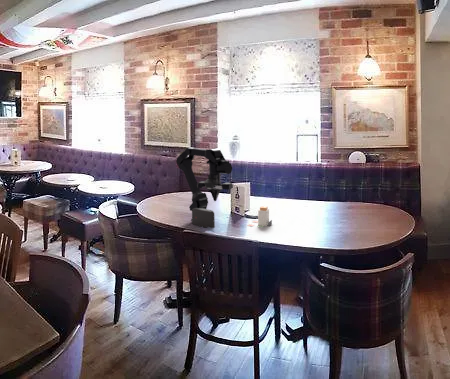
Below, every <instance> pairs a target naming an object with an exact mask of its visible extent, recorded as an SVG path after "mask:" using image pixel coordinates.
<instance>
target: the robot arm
mask: <svg viewBox="0 0 450 379" xmlns="http://www.w3.org/2000/svg"><path fill="white" fill-rule="evenodd" d="M195 156H198V157H203V158H205V159H207V162H206V164H207V165H209V168H208V169H209V170H208V171H209V172H208V173H209V174H208V175H207V176H208V177H207V179H206V180H204V181H203V180H202V181H197V179H196V176H195V174H194V171H193V160H194V158H195ZM175 161H176V165H177V167H178V168H179V169H180V170H181V171H182V172H183V174H184V176H185V179H186V181H187V183H188V187H189V189H190V191H191V194H192V195H191V202H192V203H191V204H190V205H189V211H191V212H192V209H193V208H203V209H208V204H209V201H208V200H209V198H208V196H207V194H206V192H202V191H201V189H203V188H205V189H206V190H208V191H209V193H210V194H211V196H212V200H213V201H214V202H217V200H218V198H219V195H220V193H221V191H222V190H228V191H229V190H233V188H234V185H233V183H232V182H225V183H224V182H223V183H222V181H221V176H222V174H224V175H230V174H231V173H232V171H233V166H232V164H231V163H230V160H226V157H225V156H224V155H223V153H222V151H221V149H220V148H209V149H204V148H200V147H199V148H197V147H187V148H185V150H184V151H183V152H181V153H180V154H179V156H177V157H176V160H175ZM190 220H191V221H192V218H190Z"/></svg>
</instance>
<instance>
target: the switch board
mask: <svg viewBox="0 0 450 379" xmlns="http://www.w3.org/2000/svg"><path fill="white" fill-rule="evenodd" d="M272 222H273V220H272V219H270V220H269V224H268V227H271V225H273V223H272ZM252 223H256V224H258V220H253V221H252ZM254 226H255V224H247V227H254ZM264 227H265V226H261V225H257V228H264Z"/></svg>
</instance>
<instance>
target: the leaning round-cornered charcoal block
mask: <svg viewBox="0 0 450 379" xmlns="http://www.w3.org/2000/svg"><path fill="white" fill-rule="evenodd" d="M191 219H192V220H191V224H192V225H194V226H196V227H200V228H205V229H207V228H214V229H215V227H216V226H215V220H216V219H215V212H214V211H213V210H211V209H208V208H206V209H203V208H193V209H192V211H191Z"/></svg>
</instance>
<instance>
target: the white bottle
mask: <svg viewBox="0 0 450 379" xmlns="http://www.w3.org/2000/svg"><path fill="white" fill-rule="evenodd" d="M257 212H258V214H257V215H258V216H257V217H258V218H257V221H258V223H257V226H259V225H260V226H264V227H267V226H269V221H270V209H268V206H265V205H264V206H260V207H259V209H258V210H257Z"/></svg>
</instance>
